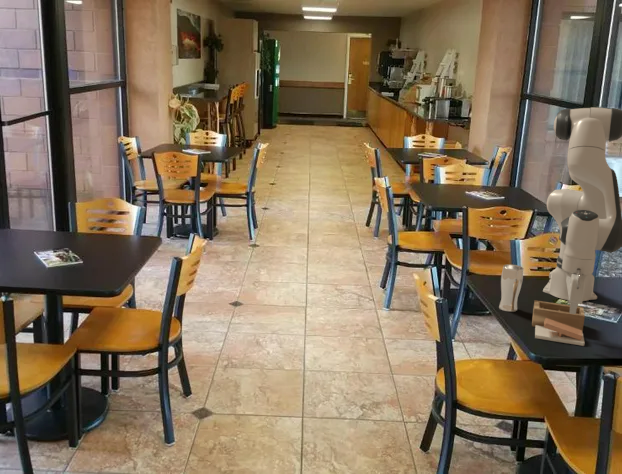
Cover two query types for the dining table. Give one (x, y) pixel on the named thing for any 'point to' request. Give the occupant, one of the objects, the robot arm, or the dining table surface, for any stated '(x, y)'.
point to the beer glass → (510, 287)
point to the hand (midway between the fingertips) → (571, 308)
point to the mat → (556, 336)
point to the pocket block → (557, 314)
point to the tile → (563, 329)
